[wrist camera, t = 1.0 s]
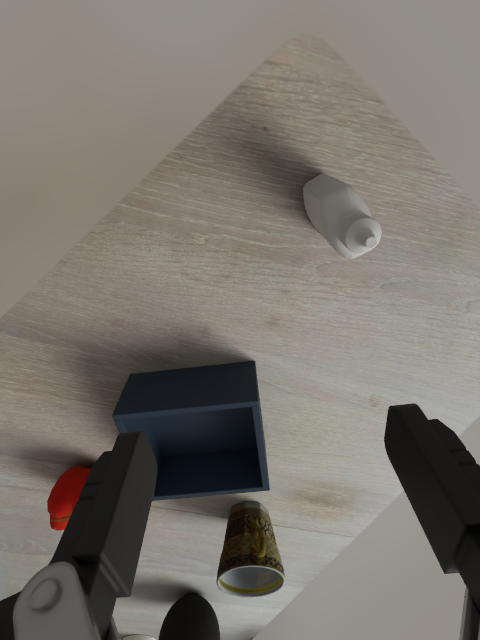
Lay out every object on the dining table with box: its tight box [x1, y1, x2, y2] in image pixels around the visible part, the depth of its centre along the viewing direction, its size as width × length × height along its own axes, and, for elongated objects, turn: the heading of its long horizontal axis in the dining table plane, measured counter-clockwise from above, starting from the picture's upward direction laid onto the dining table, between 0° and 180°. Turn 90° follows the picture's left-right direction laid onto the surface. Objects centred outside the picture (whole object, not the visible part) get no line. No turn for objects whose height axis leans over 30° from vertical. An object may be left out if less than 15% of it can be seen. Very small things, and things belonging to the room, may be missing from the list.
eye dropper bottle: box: [303, 174, 382, 259], centre depth 25 cm, size 4×6×12 cm
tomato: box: [47, 466, 91, 531], centre depth 46 cm, size 9×9×8 cm
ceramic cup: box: [217, 501, 285, 597], centre depth 50 cm, size 13×10×10 cm
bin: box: [112, 361, 270, 501], centre depth 40 cm, size 16×16×7 cm
